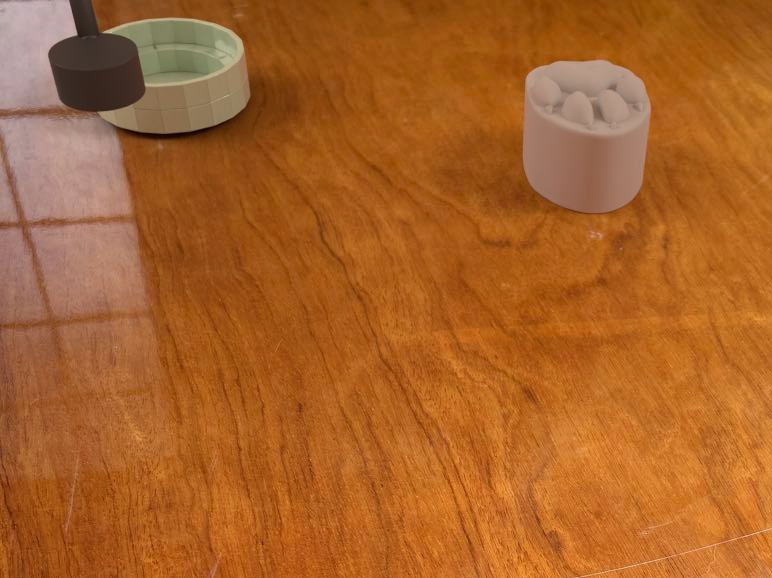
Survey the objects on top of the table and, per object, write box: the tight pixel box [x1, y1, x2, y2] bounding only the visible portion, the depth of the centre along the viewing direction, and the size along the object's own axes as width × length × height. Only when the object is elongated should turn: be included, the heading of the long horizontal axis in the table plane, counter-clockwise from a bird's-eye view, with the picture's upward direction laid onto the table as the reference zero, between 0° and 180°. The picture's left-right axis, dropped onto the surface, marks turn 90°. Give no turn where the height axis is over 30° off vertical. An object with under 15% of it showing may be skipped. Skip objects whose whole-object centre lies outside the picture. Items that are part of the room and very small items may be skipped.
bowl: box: [97, 17, 252, 135], centre depth 108 cm, size 14×14×5 cm
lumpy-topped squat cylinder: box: [522, 59, 652, 215], centre depth 101 cm, size 10×13×9 cm
